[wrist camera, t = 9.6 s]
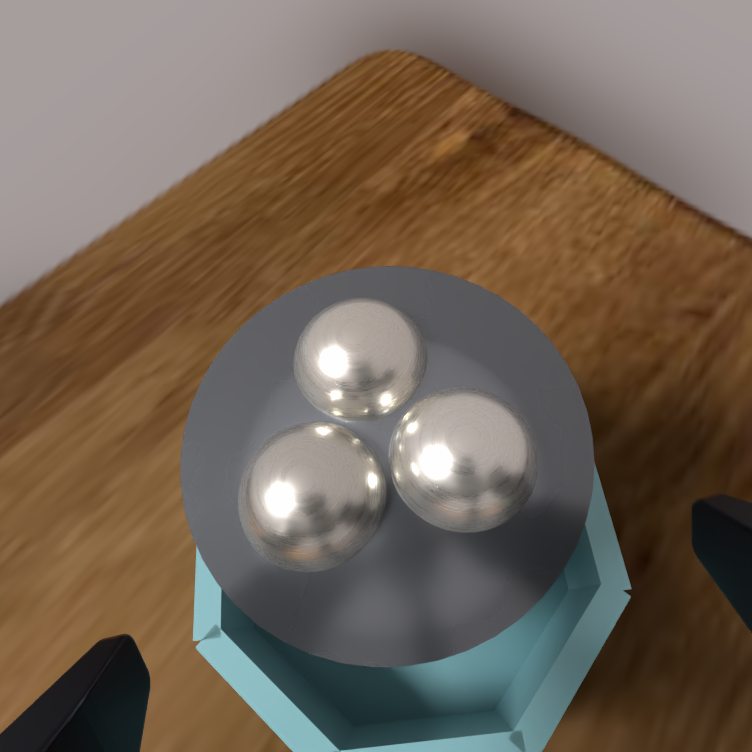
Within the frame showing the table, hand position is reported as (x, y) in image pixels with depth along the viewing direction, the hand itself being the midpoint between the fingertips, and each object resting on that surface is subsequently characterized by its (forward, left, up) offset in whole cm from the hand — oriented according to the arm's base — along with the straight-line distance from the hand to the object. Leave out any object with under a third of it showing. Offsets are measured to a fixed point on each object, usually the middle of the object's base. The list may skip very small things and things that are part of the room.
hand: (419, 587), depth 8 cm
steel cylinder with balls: (+1, +2, -11) cm, 11 cm away
